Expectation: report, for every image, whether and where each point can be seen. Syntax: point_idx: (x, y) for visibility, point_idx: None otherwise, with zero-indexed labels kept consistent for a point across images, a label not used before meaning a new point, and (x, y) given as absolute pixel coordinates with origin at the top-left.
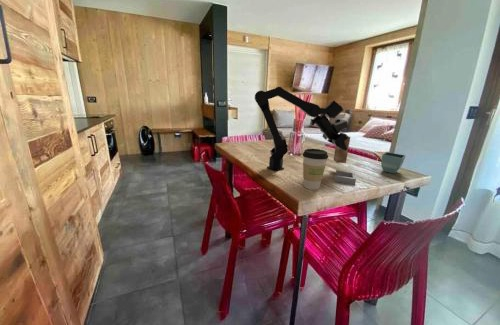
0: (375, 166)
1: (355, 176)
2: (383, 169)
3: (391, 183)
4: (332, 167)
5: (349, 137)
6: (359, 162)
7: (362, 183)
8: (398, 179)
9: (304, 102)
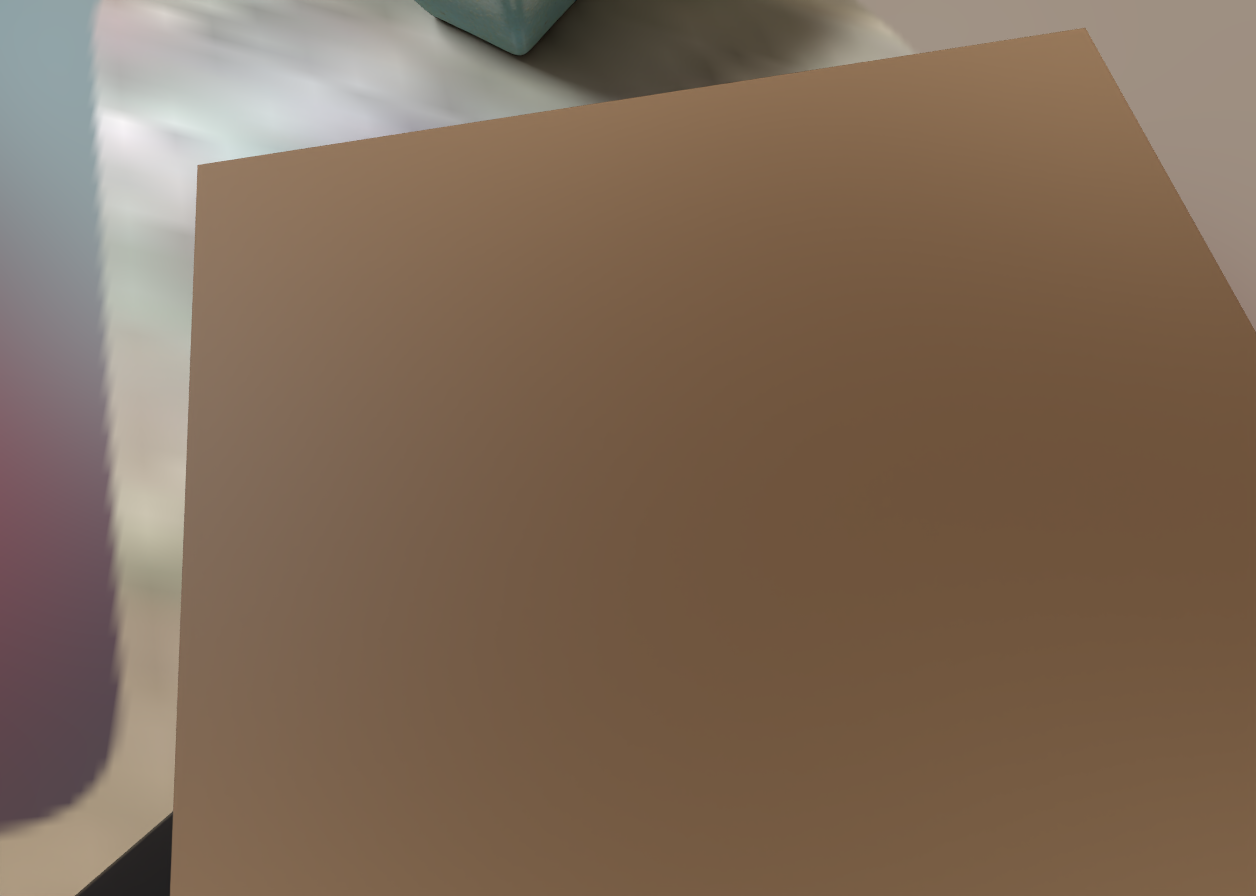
0: (313, 80)
1: None
2: (528, 40)
3: None
4: None
5: (1073, 120)
6: (128, 219)
7: None
8: (785, 12)
9: None
